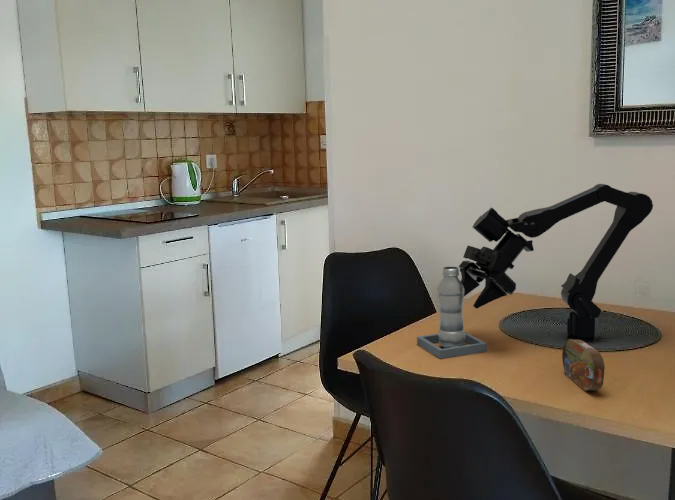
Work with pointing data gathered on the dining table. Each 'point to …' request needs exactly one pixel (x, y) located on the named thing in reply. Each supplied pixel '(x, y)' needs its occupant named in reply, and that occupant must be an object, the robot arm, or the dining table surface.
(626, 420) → the dining table surface
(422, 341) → the frame
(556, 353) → the dining table surface
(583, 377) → the tin
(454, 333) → the plastic bottle
